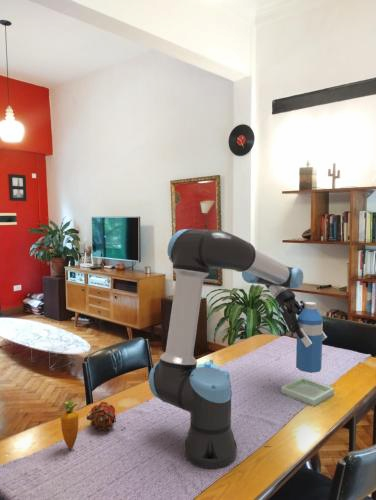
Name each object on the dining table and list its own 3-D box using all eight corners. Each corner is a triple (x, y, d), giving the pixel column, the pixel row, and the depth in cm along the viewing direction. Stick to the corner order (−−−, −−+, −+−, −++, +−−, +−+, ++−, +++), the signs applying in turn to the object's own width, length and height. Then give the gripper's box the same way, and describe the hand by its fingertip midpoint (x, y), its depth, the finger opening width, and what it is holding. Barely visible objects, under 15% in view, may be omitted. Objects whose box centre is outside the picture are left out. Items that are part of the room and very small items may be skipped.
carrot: (72, 441, 119) (71, 394, 118) (82, 448, 116) (81, 399, 114) (58, 449, 115) (56, 400, 114) (68, 456, 112) (66, 405, 111)
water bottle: (318, 363, 153) (320, 300, 151) (324, 373, 144) (326, 306, 142) (294, 362, 154) (295, 300, 152) (298, 372, 145) (299, 305, 143)
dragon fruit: (107, 442, 122) (95, 429, 132) (126, 419, 125) (114, 409, 136) (89, 424, 119) (79, 412, 130) (110, 401, 123) (98, 392, 133)
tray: (313, 407, 140) (313, 400, 140) (280, 393, 150) (281, 387, 150) (334, 395, 149) (334, 388, 149) (301, 382, 160) (302, 377, 159)
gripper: (292, 294, 166) (325, 340, 155) (259, 303, 151) (293, 354, 141) (304, 284, 161) (339, 330, 151) (270, 291, 147) (306, 343, 136)
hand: (316, 342), depth 146 cm, fingers closed on water bottle, 9 cm apart
